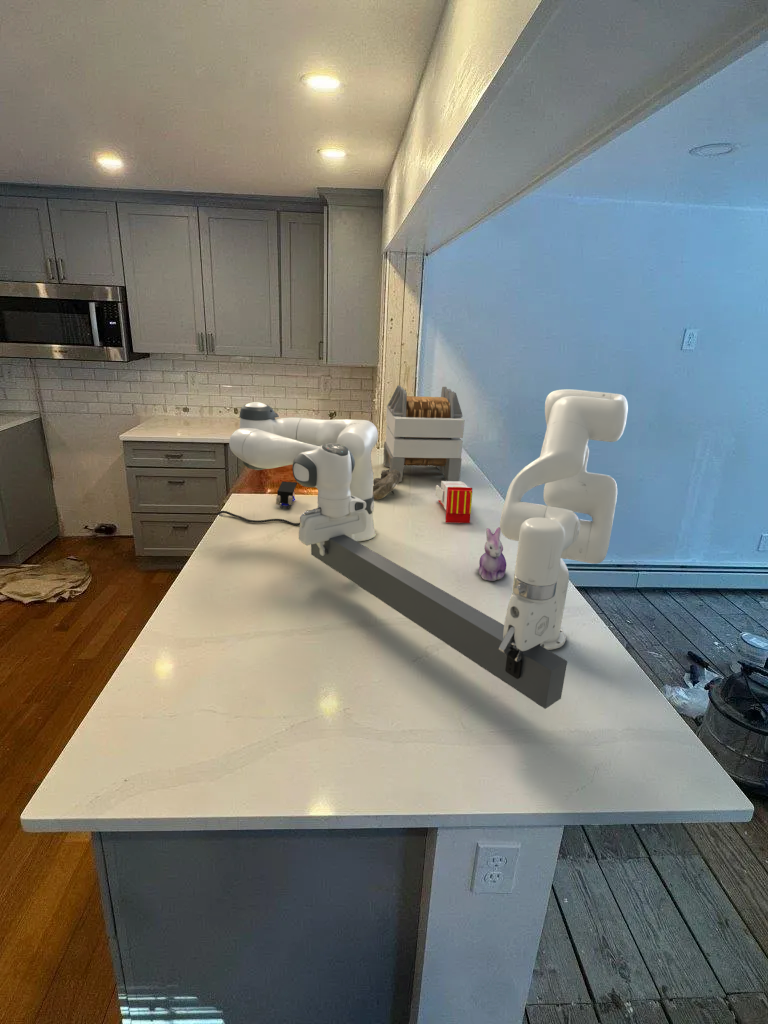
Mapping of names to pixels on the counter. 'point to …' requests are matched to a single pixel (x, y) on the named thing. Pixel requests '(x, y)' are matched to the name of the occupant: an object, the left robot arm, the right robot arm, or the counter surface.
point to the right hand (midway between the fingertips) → (522, 668)
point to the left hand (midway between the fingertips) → (333, 552)
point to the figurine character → (286, 494)
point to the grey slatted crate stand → (424, 433)
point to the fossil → (385, 483)
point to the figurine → (492, 557)
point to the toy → (455, 501)
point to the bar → (446, 618)
